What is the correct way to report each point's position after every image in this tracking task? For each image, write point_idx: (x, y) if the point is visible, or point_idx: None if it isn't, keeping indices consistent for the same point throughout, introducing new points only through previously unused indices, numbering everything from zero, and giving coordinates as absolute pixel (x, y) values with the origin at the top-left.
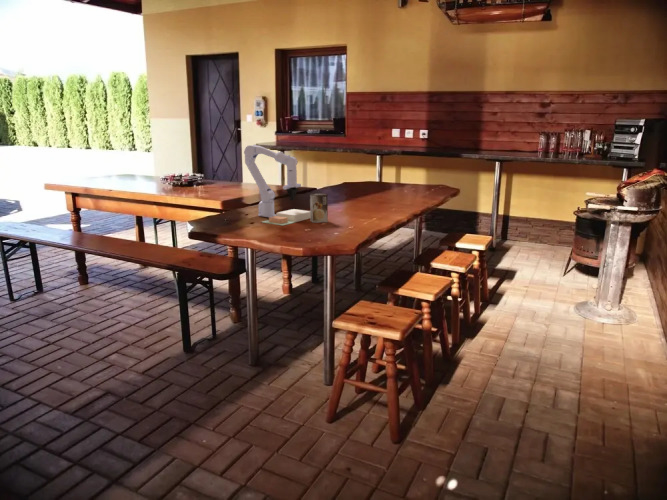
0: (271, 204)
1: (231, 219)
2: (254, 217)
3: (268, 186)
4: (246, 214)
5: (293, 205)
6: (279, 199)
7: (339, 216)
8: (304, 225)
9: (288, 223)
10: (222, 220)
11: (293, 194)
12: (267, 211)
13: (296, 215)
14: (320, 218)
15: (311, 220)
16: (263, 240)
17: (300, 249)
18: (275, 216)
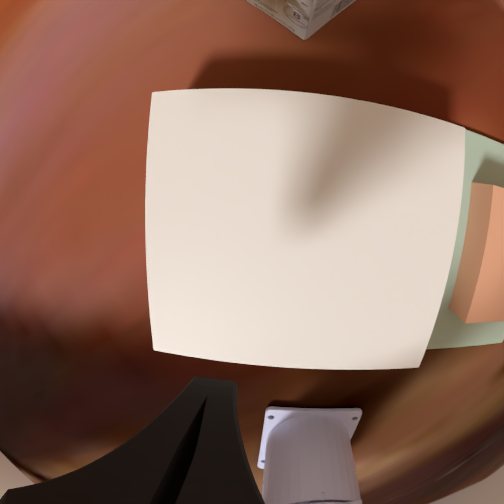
0: (334, 485)
1: (448, 463)
2: (382, 451)
3: None
4: None
5: (22, 416)
6: (27, 464)
7: (45, 26)
8: (460, 27)
9: (501, 147)
10: (469, 463)
11: (225, 471)
12: (350, 451)
13: (439, 120)
14: None
15: (334, 13)
16: None
17: None
18: (484, 307)
